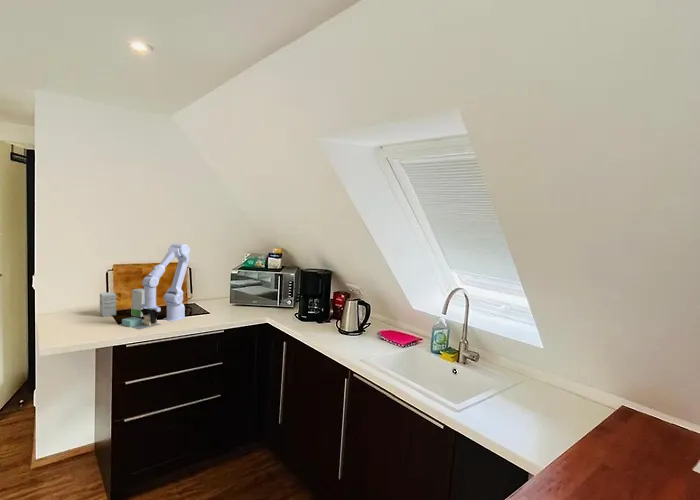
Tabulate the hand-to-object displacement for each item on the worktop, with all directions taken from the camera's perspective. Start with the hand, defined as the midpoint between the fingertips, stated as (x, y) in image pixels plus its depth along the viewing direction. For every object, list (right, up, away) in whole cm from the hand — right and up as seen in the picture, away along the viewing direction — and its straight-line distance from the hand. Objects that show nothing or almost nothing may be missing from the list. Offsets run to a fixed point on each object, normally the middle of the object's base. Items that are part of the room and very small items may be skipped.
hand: (150, 322), depth 232 cm
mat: (-5, -1, -1) cm, 5 cm away
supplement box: (-33, +1, +17) cm, 37 cm away
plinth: (-9, -1, -2) cm, 9 cm away
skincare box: (-14, +1, +18) cm, 23 cm away
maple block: (0, -1, 0) cm, 1 cm away
